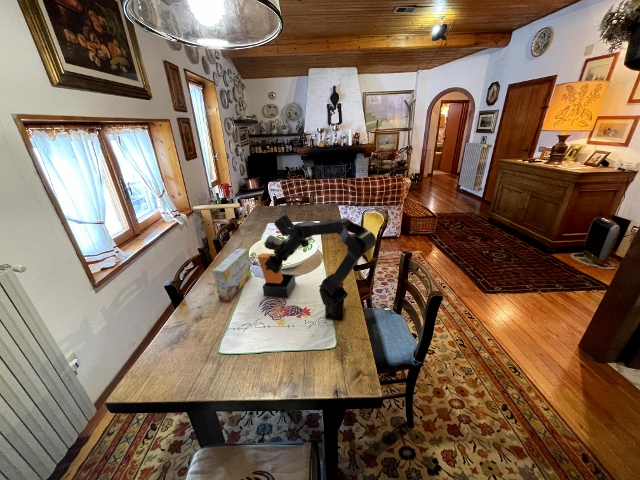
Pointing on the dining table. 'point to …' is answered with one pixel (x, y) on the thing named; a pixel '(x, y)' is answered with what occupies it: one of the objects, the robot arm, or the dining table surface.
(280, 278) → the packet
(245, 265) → the snack box
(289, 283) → the black square tray
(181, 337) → the dining table surface
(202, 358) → the dining table surface
